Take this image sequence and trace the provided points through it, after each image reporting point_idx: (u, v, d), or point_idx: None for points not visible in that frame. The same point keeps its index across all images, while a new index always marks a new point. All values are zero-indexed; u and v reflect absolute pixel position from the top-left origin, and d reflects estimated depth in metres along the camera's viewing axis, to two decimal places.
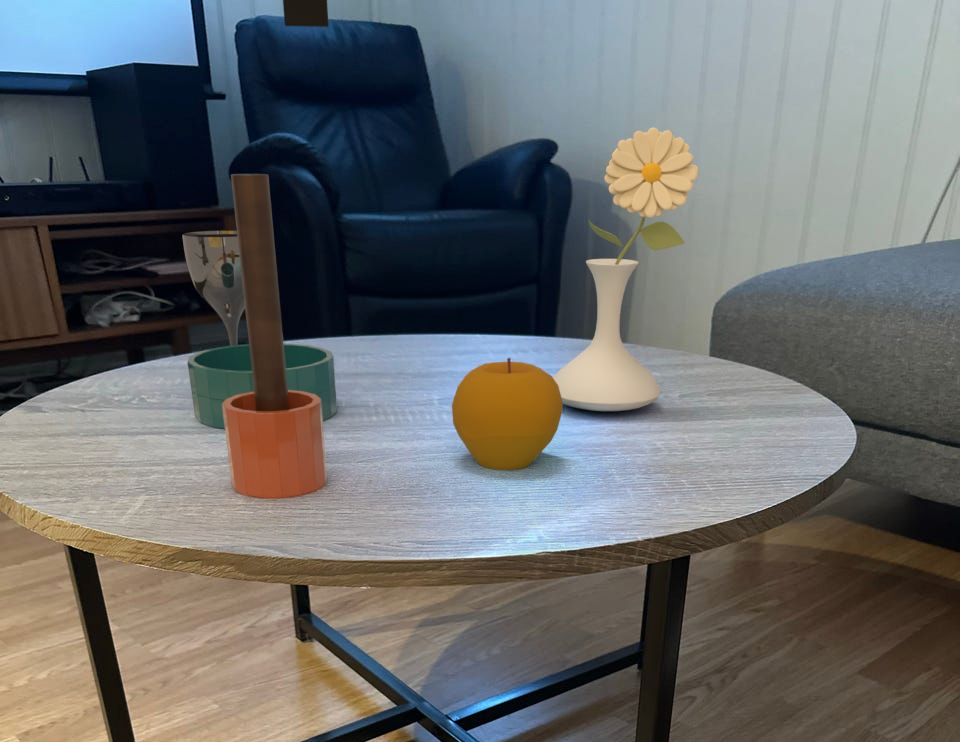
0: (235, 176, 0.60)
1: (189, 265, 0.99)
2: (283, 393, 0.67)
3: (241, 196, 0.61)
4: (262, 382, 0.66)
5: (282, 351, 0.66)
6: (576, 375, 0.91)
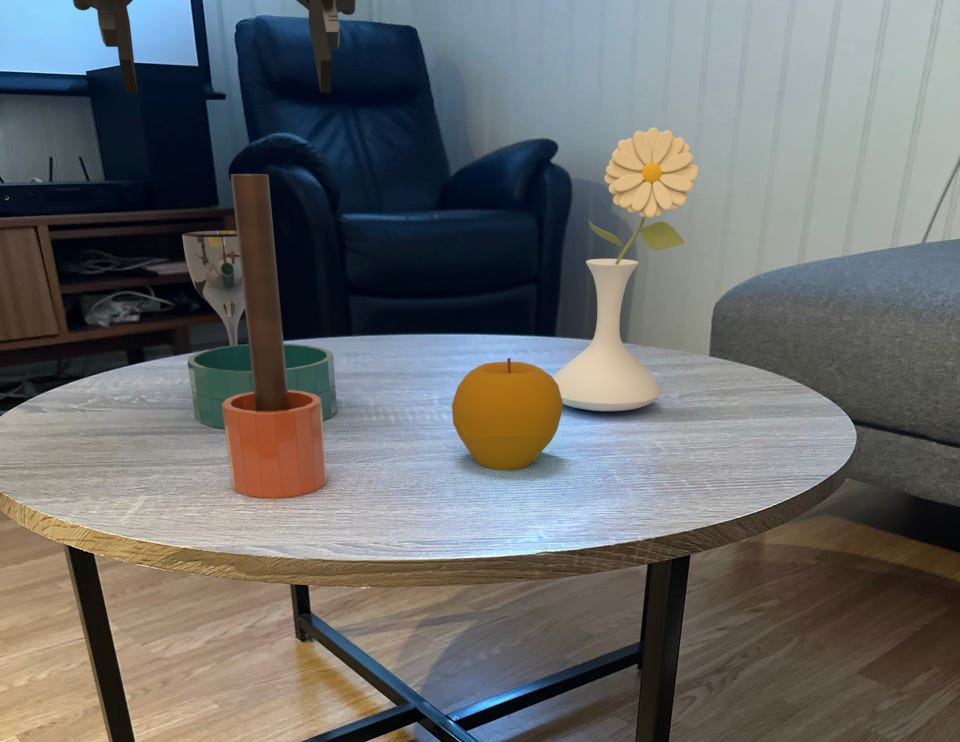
0: (235, 176, 0.60)
1: (189, 265, 0.99)
2: (283, 393, 0.67)
3: (241, 196, 0.61)
4: (262, 382, 0.66)
5: (282, 351, 0.66)
6: (576, 375, 0.91)
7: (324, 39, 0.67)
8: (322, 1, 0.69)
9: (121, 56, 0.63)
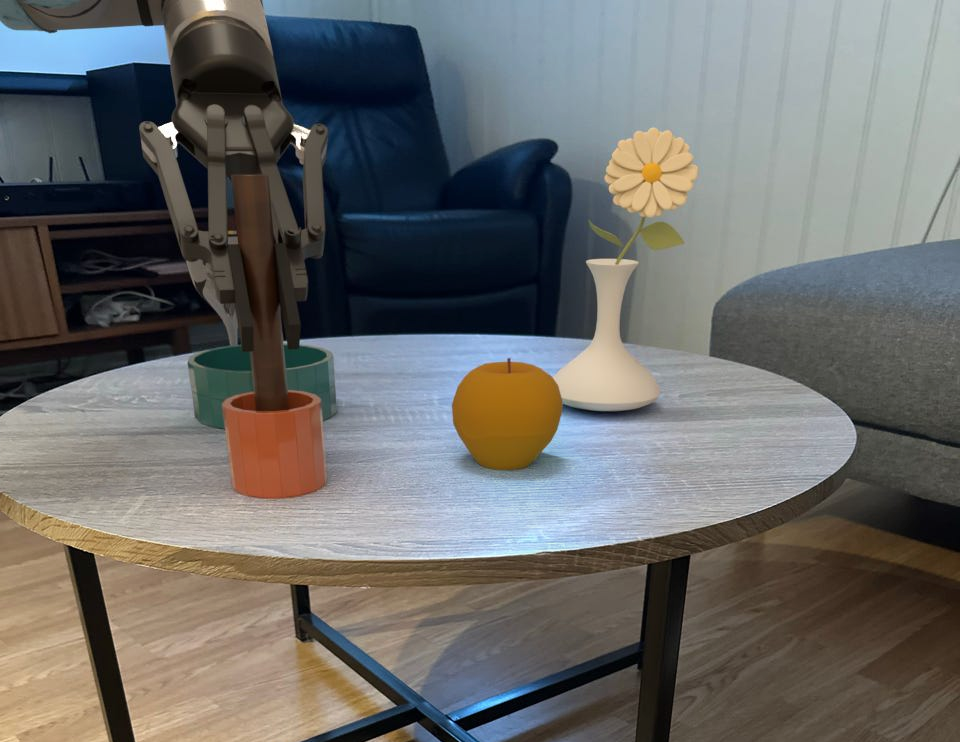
0: (235, 176, 0.60)
1: (189, 265, 0.99)
2: (283, 393, 0.67)
3: (241, 196, 0.61)
4: (262, 382, 0.66)
5: (282, 351, 0.66)
6: (576, 375, 0.91)
7: (292, 300, 0.62)
8: (289, 253, 0.64)
9: (243, 323, 0.61)
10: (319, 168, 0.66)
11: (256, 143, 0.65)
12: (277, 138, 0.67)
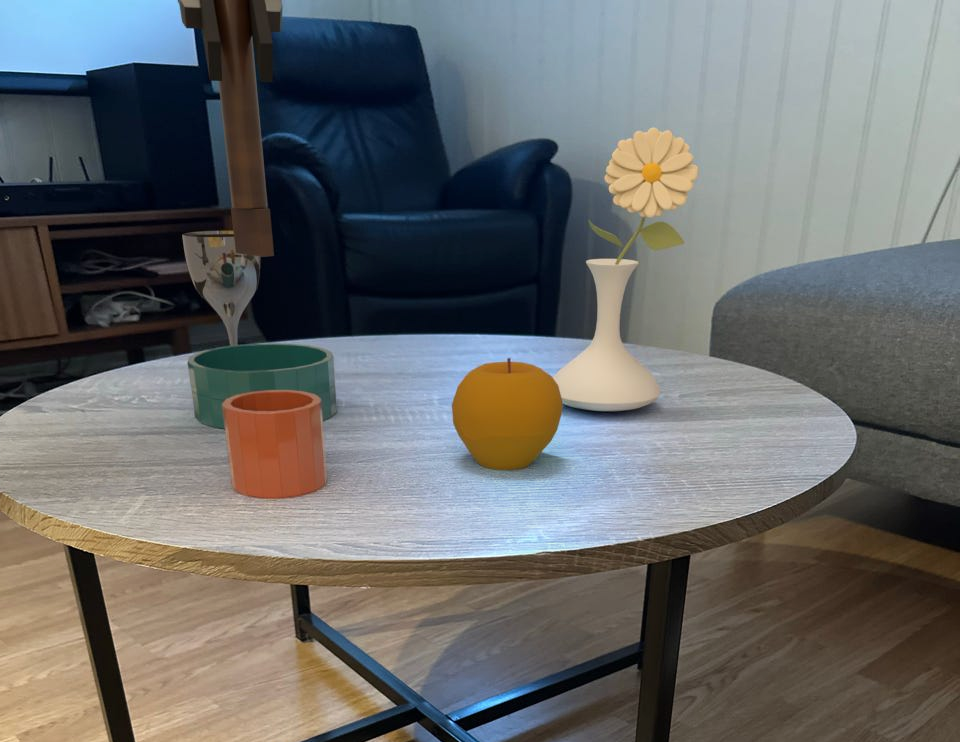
0: None
1: (189, 265, 0.99)
2: (256, 143, 0.62)
3: None
4: (233, 128, 0.61)
5: (255, 93, 0.61)
6: (576, 375, 0.91)
7: (264, 19, 0.57)
8: None
9: (210, 37, 0.55)
10: None
11: None
12: None
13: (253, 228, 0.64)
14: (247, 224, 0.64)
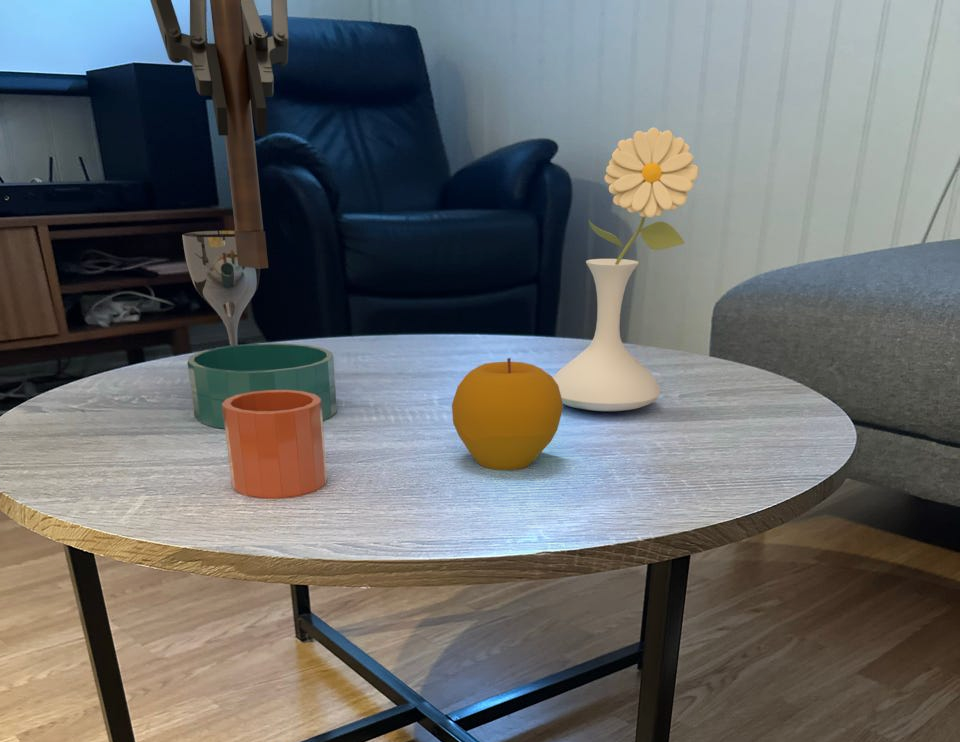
0: None
1: (189, 265, 0.99)
2: (254, 181, 0.80)
3: None
4: (236, 169, 0.79)
5: (253, 143, 0.79)
6: (576, 375, 0.91)
7: (260, 89, 0.75)
8: (257, 54, 0.76)
9: (218, 104, 0.73)
10: None
11: None
12: None
13: (252, 246, 0.82)
14: (247, 243, 0.82)
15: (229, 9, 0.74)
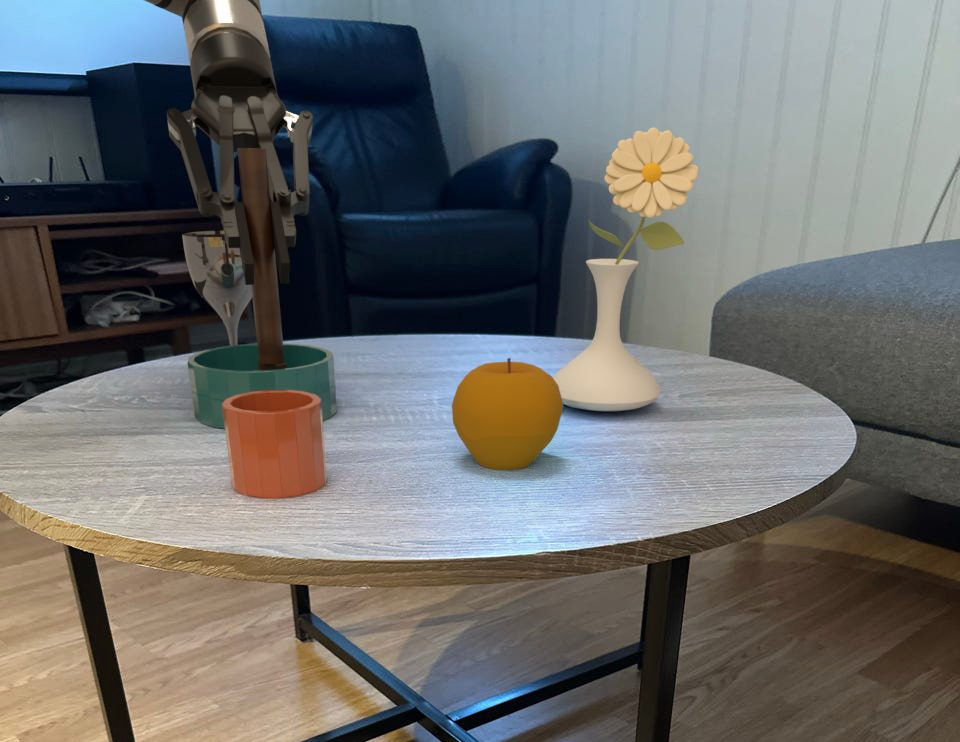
0: (240, 149, 0.80)
1: (189, 265, 0.99)
2: (277, 320, 0.87)
3: (245, 164, 0.80)
4: (261, 311, 0.86)
5: (276, 286, 0.86)
6: (576, 375, 0.91)
7: (283, 244, 0.81)
8: (281, 209, 0.83)
9: (246, 261, 0.80)
10: (305, 145, 0.85)
11: (256, 125, 0.84)
12: (273, 122, 0.86)
13: None
14: None
15: (256, 173, 0.80)
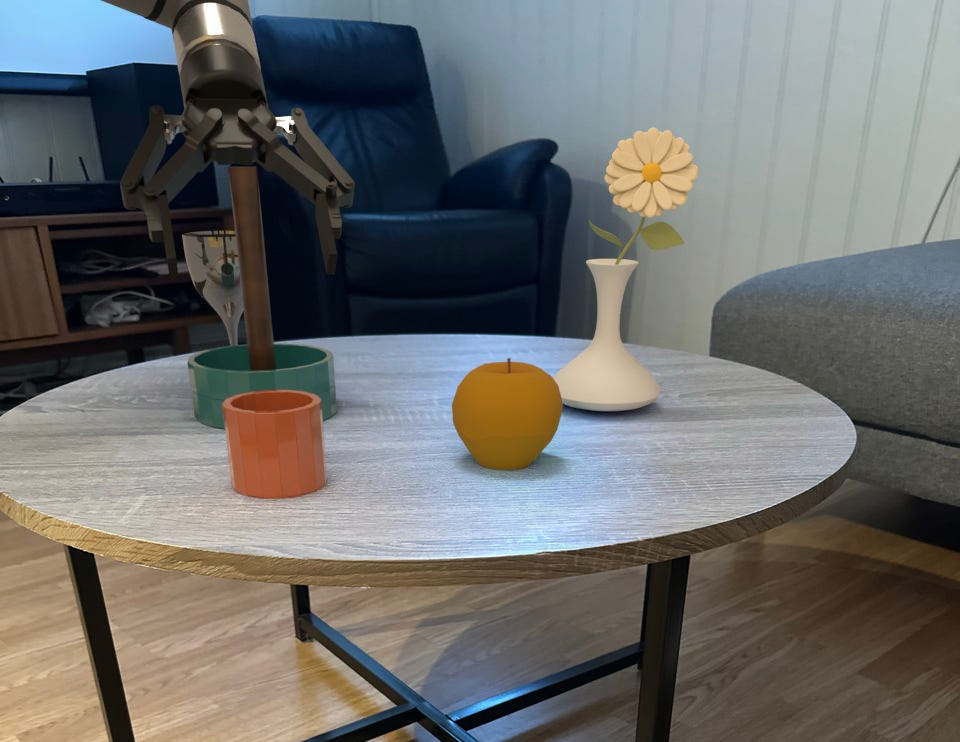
0: (231, 168, 0.79)
1: (189, 265, 0.99)
2: (269, 338, 0.86)
3: (236, 183, 0.79)
4: (253, 329, 0.85)
5: (268, 305, 0.85)
6: (576, 375, 0.91)
7: (330, 236, 0.83)
8: (327, 201, 0.84)
9: (168, 255, 0.78)
10: (318, 140, 0.86)
11: (262, 135, 0.84)
12: None
13: None
14: None
15: (248, 192, 0.80)
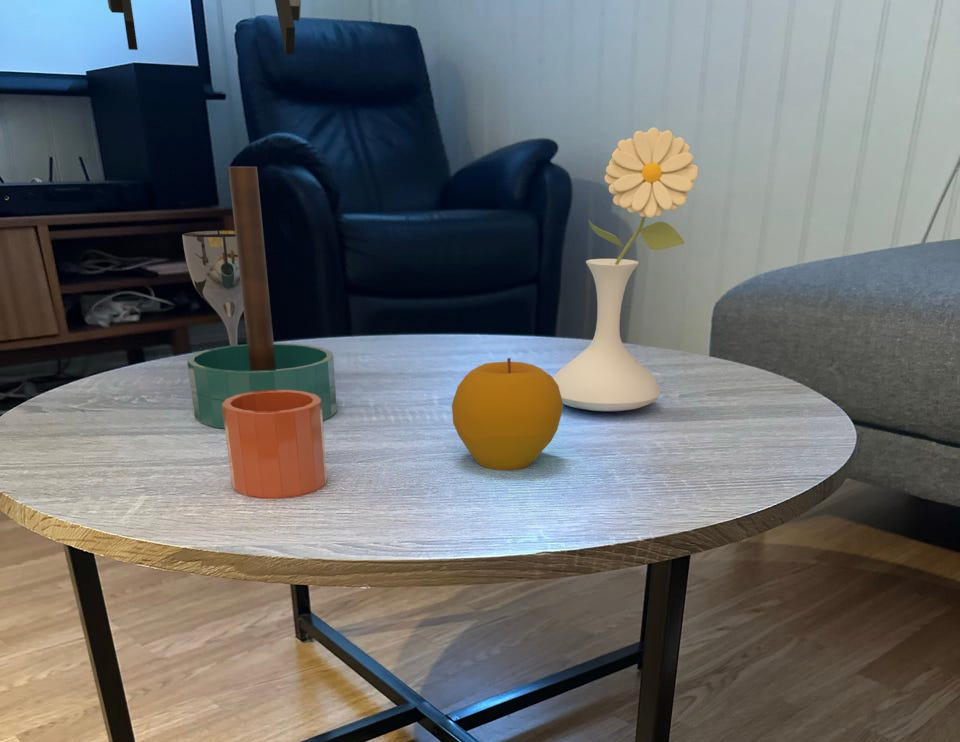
0: (231, 168, 0.79)
1: (189, 265, 0.99)
2: (269, 338, 0.86)
3: (236, 183, 0.79)
4: (253, 329, 0.85)
5: (268, 305, 0.85)
6: (576, 375, 0.91)
7: (288, 11, 0.84)
8: None
9: (126, 18, 0.79)
10: None
11: None
12: None
13: None
14: None
15: (248, 192, 0.80)
